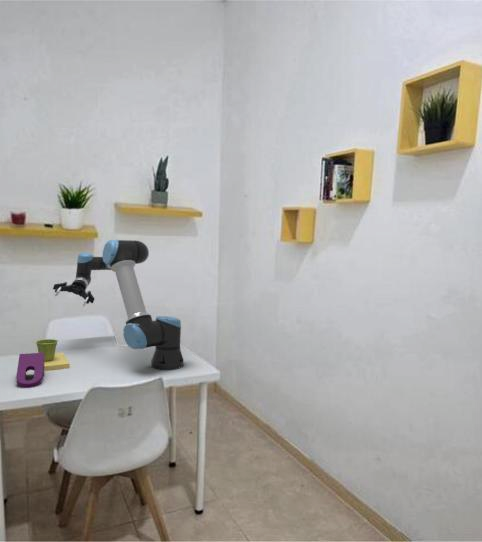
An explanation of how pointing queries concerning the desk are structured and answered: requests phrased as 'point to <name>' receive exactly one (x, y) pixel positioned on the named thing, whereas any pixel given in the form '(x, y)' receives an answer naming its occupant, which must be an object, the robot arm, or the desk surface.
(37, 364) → the mounting bracket
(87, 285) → the robot arm
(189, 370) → the desk surface
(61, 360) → the shelf board
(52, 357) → the plant pot
